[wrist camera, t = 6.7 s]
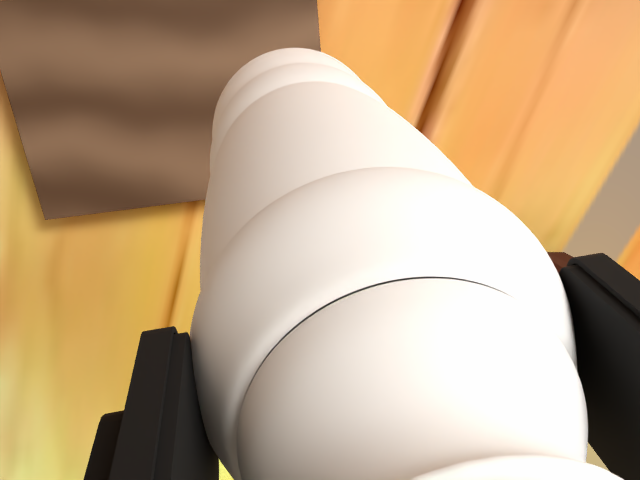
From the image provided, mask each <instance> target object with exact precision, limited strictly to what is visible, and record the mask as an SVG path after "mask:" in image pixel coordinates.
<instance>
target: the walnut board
mask: <svg viewBox="0 0 640 480" xmlns="http://www.w3.org/2000/svg"><path fill="white" fill-rule="evenodd" d="M284 48H306V49H312V50H316V51H319V52H321V48H320V36H319V23H318V10H317V0H0V70H1V74H2V77H3V81H4V84H5V87H6V91H7V94H8V97H9V101H10V104H11V107H12V111H13V114H14V117H15V121H16V124H17V127H18V131H19V134H20V137H21V141H22V144H23V147H24V151H25V154H26V157H27V161H28V164H29V167H30V171H31V174H32V177H33V181H34V184H35V187H36V191H37V194H38V197H39V201H40V204H41V207H42V211H43V214H44V217H45V220H48V219H56V218H63V217H71V216H79V215H87V214H95V213H103V212H111V211H119V210H126V209H134V208H142V207H150V206H158V205H166V204H174V203H182V202H189V201H197V200H205V199H206V195H207V189H208V183H209V179H210V151H211V144H212V127H213V119H214V113H215V109H216V105H217V103H218V100H219V98H220V95H221V93H222V91H223V90H224V88H225V86H226V85H227V83H228V82H229V80H230V79H231V78H232V77H233V75H234V74H235V73H236V72H237V71H238V70H239V69H240V68H242V67H243V66H244V65H245V64H247V63H248V62H249V61H251V60H253V59H254V58H256V57H258V56H260V55H262V54H265V53H267V52H271V51H274V50H278V49H284Z"/></svg>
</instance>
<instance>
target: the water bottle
mask: <svg viewBox="0 0 640 480" xmlns="http://www.w3.org/2000/svg"><path fill="white" fill-rule="evenodd" d="M200 288H201V292H200V294H199V297H198V300H197V304H196V307H195V311H194V315H193V319H192V324H191V330H190V340H191V350H192V361H193V369H194V377H195V384H196V390H197V396H198V401H199V406H200V411H201V416H202V420H203V424H204V428H205V431H206V434H207V437H208V440H209V442H210V445H211V446H212V448H213V450H214V452H215V453H216V455H217V456H218V458H219V459H220V461H221V462H222V464H223V465H224V467H225V468H226V469H227V471H228V472H229V473H230V475H231V476H232V477H233V479H234V480H624V479H622V478H620V477H618V476H616V475H615V474H613V473H611V472H609V471H607V470H605V469H603V468H600V467H598V466H595V465H592V464H589V463H586V455H587V444H588V415H587V407H586V400H585V396H584V392H583V388H582V384H581V381H580V378H579V376H578V367H577V355H576V343H575V332H574V324H573V319H572V313H571V309H570V305H569V301H568V298H567V295H566V292H565V289H564V286H563V283H562V281H561V279H560V276H559V274H558V272H557V270H556V268H555V266H554V264H553V262H552V260H551V259H550V257H549V255H548V254H547V252H546V251H545V249H544V248H543V246H542V245H541V244H540V242H539V241H538V239H537V238H536V237H535V236H534V234H533V233H532V232H531V231H530V230H529V229H528V228H527V227H526V226H525V225H524V224H523V223H522V221H521V220H519V219H518V218H517V217H516V216H515V215H514V214H513V213H512V212H511V211H509V210H508V209H507V208H506V207H504V206H503V205H502V204H500V203H499V202H498V201H496V200H495V199H493V198H492V197H490V196H489V195H487V194H485V193H484V192H482V191H480V190H478V189H476V188H475V187H473V186H472V185H471V183H470V182H469V181H468V180H467V179H466V178H465V176H464V175H463V174H462V173H461V172H460V171H459V170H458V169H457V167H456V166H455V165H454V164H453V163H452V162H451V161H450V160H449V159H448V158H447V157H446V156H445V155H444V154H443V153H442V152H441V151H440V150H439V149H438V148H437V147H436V146H435V145H434V144H432V143H431V142H430V141H429V140H428V139H427V138H426V137H425V136H424V135H423V134H422V133H420V132H419V131H418V130H417V129H416V128H415V127H413V126H412V125H411V124H410V123H409V122H407V121H406V120H405V119H404V118H402V117H401V116H400V115H398V114H397V113H396V112H394V111H393V110H392V109H390V108H389V107H387V105H386V104H385V103H384V101H383V100H382V99H381V98H380V97H379V96H378V95H377V94H376V93H375V92H374V91H373V90H372V89H371V88H370V87H369V86H367V85H366V84H365V83H363V82H362V81H361V80H360V79H359V77H358V76H357V75H356V74H355V73H354V72H353V71H352V70H351V69H349V68H348V67H347V66H346V65H344V64H343V63H342V62H340V61H339V60H337V59H335V58H333V57H331V56H329V55H327V54H325V53H322V52H319V51H316V50H312V49H306V48H284V49H278V50H274V51H271V52H267V53H265V54H262V55H260V56H258V57H256V58H254V59H253V60H251V61H249V62H248V63H247V64H245V65H244V66H243V67H242V68H240V69H239V70H238V71H237V72H236V73H235V74H234V75H233V77H232V78H231V79H230V80H229V82H228V83H227V85H226V86H225V88H224V90H223V91H222V93H221V95H220V98H219V100H218V103H217V105H216V109H215V113H214V119H213V127H212V144H211V151H210V179H209V183H208V189H207V195H206V200H205V208H204V216H203V226H202V237H201V255H200Z"/></svg>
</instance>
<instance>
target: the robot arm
mask: <svg viewBox="0 0 640 480" xmlns="http://www.w3.org/2000/svg"><path fill="white" fill-rule="evenodd" d="M559 276H560V279H561V281H562V283H563V286H564V289H565V292H566V295H567V298H568V301H569V305H570V309H571V313H572V319H573V324H574V332H575V343H576V355H577V367H578V376H579V378H580V381H581V384H582V388H583V392H584V396H585V400H586V407H587V415H588V443H589V444H590V445H591V447H593V449H594V451H595V452H596V453H597V455H598V456H599V457H600V459H601V460H602V461H603V463H604V464H605V465H606V467H607V468H608V469H609V471H610V472H611V473H613V474H615V475H616V476H618V477H620V478H622V479H624V480H640V281H639V280H638V279H637V278H636V277H634V276H633V275H632V274H630V273H629V272H628V271H626V270H625V269H624V268H623V267H621V266H620V265H619V264H617V263H616V262H615V261H614V260H612V259H611V258H609V257H608V256H607V255H605V254H603V253H598V254H592V255H586V256H580V257H574V258H571V259H570V260H569V261H568V263H567V267H563V268H561V270H560V272H559ZM84 480H219V459H218V456H217V455H216V453H215V452H214V450H213V448H212V446H211V445H210V442H209V440H208V437H207V434H206V431H205V428H204V424H203V420H202V416H201V411H200V406H199V401H198V396H197V390H196V384H195V377H194V369H193V361H192V350H191V340H190V337H189V334H188V333H187V332H185V333H180V334H178V332H177V330H176V328H175V327H174V326H172V327H167V328H161V329H155V330H149V331H144V332H142V334H141V338H140V342H139V346H138V351H137V355H136V360H135V364H134V369H133V373H132V378H131V382H130V387H129V391H128V396H127V400H126V405H125V409H124V411H119V412H113V413H108V414H104V415H103V416H102V417H101V420H100V422H99V425H98V429H97V433H96V436H95V440H94V444H93V447H92V451H91V455H90V458H89V462H88V466H87V469H86V473H85V477H84Z"/></svg>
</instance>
